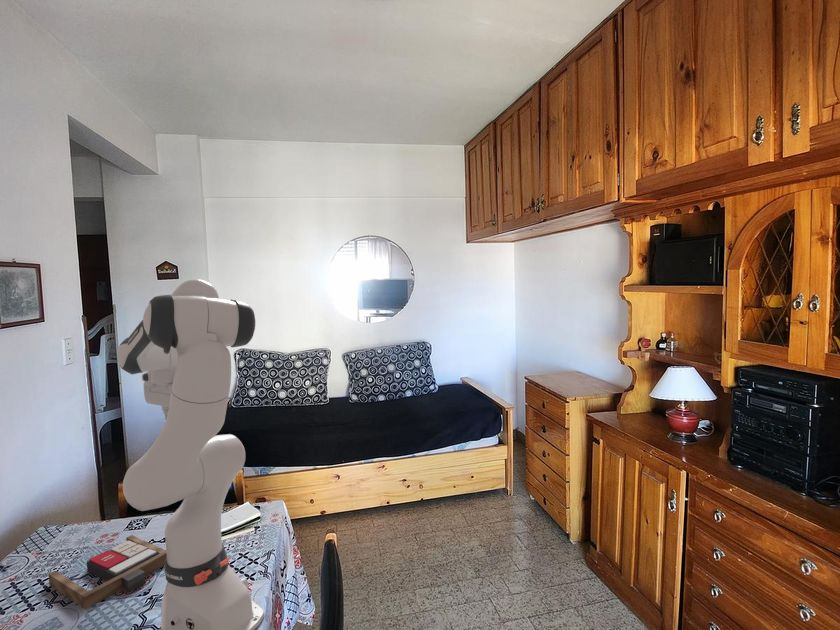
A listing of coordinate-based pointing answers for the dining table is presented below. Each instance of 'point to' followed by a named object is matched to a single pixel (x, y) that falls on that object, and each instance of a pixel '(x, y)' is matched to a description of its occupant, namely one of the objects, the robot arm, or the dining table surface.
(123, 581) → the cradle
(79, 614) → the dining table surface
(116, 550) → the red and white box
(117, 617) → the dining table surface
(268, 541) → the dining table surface
